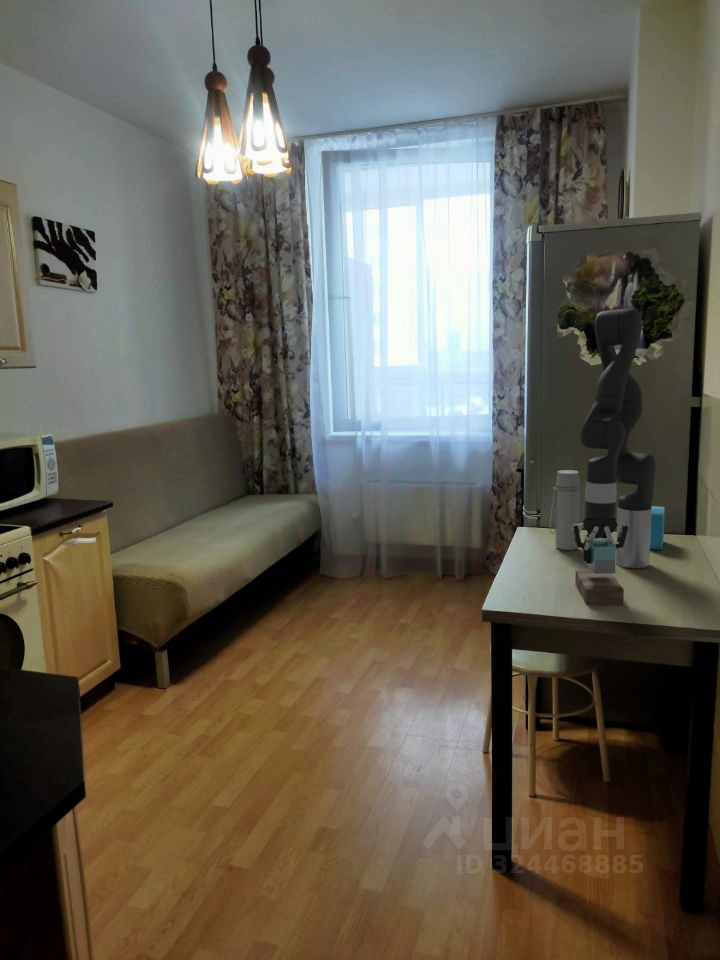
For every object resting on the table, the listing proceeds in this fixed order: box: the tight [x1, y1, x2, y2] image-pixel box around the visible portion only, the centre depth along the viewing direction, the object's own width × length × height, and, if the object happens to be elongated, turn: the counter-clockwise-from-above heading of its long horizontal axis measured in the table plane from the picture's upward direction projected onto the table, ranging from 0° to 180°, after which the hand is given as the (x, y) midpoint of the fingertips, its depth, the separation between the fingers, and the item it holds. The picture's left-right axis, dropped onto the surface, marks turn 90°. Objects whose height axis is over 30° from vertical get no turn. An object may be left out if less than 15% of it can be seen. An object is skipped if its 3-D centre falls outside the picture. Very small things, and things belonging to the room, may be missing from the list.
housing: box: [582, 534, 616, 574], centre depth 176 cm, size 5×11×7 cm, turn 177°
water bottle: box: [548, 469, 581, 551], centre depth 218 cm, size 9×8×25 cm
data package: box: [650, 505, 666, 551], centre depth 218 cm, size 12×4×12 cm, turn 155°
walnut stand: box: [574, 570, 625, 606], centre depth 178 cm, size 15×9×4 cm, turn 172°
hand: (598, 562), depth 176 cm, fingers closed on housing, 5 cm apart
